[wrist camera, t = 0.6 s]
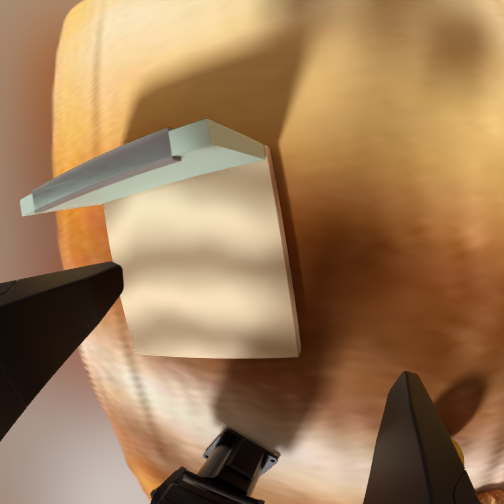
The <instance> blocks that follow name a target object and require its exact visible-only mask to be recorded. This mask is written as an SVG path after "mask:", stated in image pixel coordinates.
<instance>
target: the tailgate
mask: <svg viewBox="0 0 504 504" xmlns="http://www.w3.org/2000/svg"><path fill="white" fill-rule="evenodd" d="M262 160H265V154H264V149H263V144H262V143H260V142H258V141H256V140H254V139H252V138H250V137H248V136H245V135H243V134H241V133H239V132H237V131H234V130H232V129H230V128H228V127H226V126H223V125H221V124H219V123H216V122H214V121H212V120H209V119H204V120H200V121H197V122H194V123H191V124H188V125H185V126H182V127H179V128H177V129H172V128H165V129H162V130H160V131H157V132H154V133H152V134H149V135H147V136H144V137H142V138H139V139H137V140H134V141H132V142H129V143H127V144H125V145H122V146H120V147H118V148H115V149H113V150H111V151H109V152H106V153H104V154H102V155H100V156H98V157H95V158H93V159H91V160H89V161H87V162H85V163H83V164H81V165H79V166H77V167H75V168H73V169H71V170H69V171H67V172H65V173H63V174H61V175H59V176H57V177H55V178H54V179H52V180H50V181H48V182H46V183H44V184H43V185H41V186H39V187H37V188H36V189H34V190H32V194H30V195H29V196H27V197H25V198H23V199H22V200H20V204H21V212H22V216H27V215H33V214H38V213H44V212H51V211H58V210H64V209H71V208H78V207H85V206H93V205H100V204H103V203H106V202H109V201H113V200H116V199H119V198H122V197H125V196H128V195H132V194H135V193H138V192H141V191H145V190H148V189H151V188H155V187H158V186H162V185H165V184H169V183H173V182H176V181H180V180H183V179H187V178H191V177H195V176H199V175H203V174H207V173H211V172H215V171H219V170H223V169H227V168H231V167H235V166H240V165H244V164H249V163H253V162H258V161H262Z"/></svg>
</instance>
